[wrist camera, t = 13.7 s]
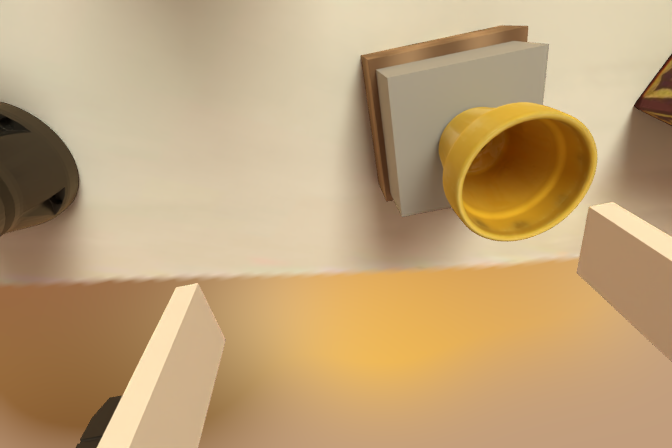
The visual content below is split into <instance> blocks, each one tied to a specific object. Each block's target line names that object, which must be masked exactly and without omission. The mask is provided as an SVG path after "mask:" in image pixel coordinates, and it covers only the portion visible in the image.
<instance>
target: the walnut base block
mask: <svg viewBox="0 0 672 448" xmlns="http://www.w3.org/2000/svg"><path fill="white" fill-rule="evenodd" d="M527 36H528V26H497V27H492V28H488V29H483V30H478V31H473V32H469V33H464V34H459V35H455V36H450V37H445V38H441V39H436V40H431V41H427V42H422V43H417V44H412V45H408V46H403V47H398V48H394V49H389V50H384V51H380V52H375V53H370V54H366V55H361V60H362V67H363V74H364V81H365V89H366V96H367V103H368V110H369V117H370V125H371V132H372V139H373V146H374V153H375V161H376V168H377V175H378V182H379V185H380V188H381V190H382V192H383V194H384V197H385V199H386V201H392V200H394V199H393V197H392V195H391V193H390V185H389V176H388V168H387V160H386V151H385V143H384V135H383V126H382V118H381V109H380V101H379V93H378V84H377V76H376V69H381V68H386V67H391V66H396V65H400V64H405V63H410V62H415V61H420V60H424V59H429V58H434V57H439V56H444V55H448V54H453V53H458V52H463V51H468V50H472V49H477V48H482V47H487V46H492V45H496V44H501V43H506V42H511V41H521V42H527Z"/></svg>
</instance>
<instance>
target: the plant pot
mask: <svg viewBox="0 0 672 448" xmlns="http://www.w3.org/2000/svg"><path fill="white" fill-rule="evenodd" d="M439 157H440V160H441V163H442V166H443V188H444V192H445V195H446V198H447V200H448V202H449V204H450V205H451V207H452V208H453V210H454V211H455V213H456V214H457V215H458V217H459V218H460V219H461V221H462V222H463V223H464V224H465V225H466V226H467V227H468V228H469V229H470V230H471V231H473V232H474V233H476V234H477V235H479V236H482V237H484V238H487V239H490V240H495V241H517V240H522V239H527V238H530V237H533V236H536V235H538V234H541V233H543V232H545V231H547V230H549V229H551V228H552V227H554V226H555V225H557V224H558V223H560V222H561V221H562V220H564V219H565V218H566V217H567V216H568V215H569V214H570V213H571V212H572V211H573V210H574V209H575V208H576V207H577V206H578V204H579V203H580V202H581V200H582V199H583V198H584V196H585V194H586V193H587V191H588V189H589V187H590V185H591V183H592V181H593V178H594V175H595V171H596V166H597V149H596V145H595V141H594V139H593V137H592V135H591V133H590V131H589V130H588V129H587V128H586V126H585V125H584V124H583V123H582V122H580V121H579V120H578V119H576V118H574V117H572V116H570V115H568V114H566V113H563V112H561V111H559V110H556V109H553V108H550V107H547V106H544V105H540V104H536V103H529V102H518V103H510V104H506V105H503V106H499V107H497V108H490V107H476V108H471V109H468V110H466V111H463V112H462V113H460V114H458V115H457V116H456V117H454V118H453V119H452V120H451V121H450V122H449V123H448V125H447V126H446V127H445V129H444V131H443V133H442V135H441V138H440V141H439Z"/></svg>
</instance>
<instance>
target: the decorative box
mask: <svg viewBox="0 0 672 448" xmlns="http://www.w3.org/2000/svg"><path fill="white" fill-rule="evenodd" d="M634 106H635V107H636V108H637V109H639V110H641V111H643V112H645V113H647V114H649V115H651V116H653V117H655V118H657V119H659V120H661V121H663V122H665V123H667V124H669V125H671V126H672V54H671V56H670V57H669V58H668V60H667V61H666V62H665V64H664V65H663V66H662V68H661V69H660V70H659V72H658V73H657V74H656V76H655V77H654V78H653V80H652V81H651V82H650V84H649V85H648V87H647V88H646V89H645V91H644V92H643V93H642V95H641V96H640V97H639V99H638V100H637V102H636V103H635V105H634Z"/></svg>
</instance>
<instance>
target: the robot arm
mask: <svg viewBox="0 0 672 448" xmlns="http://www.w3.org/2000/svg"><path fill="white" fill-rule="evenodd" d="M78 182H79V181H78V172H77V168H76V164H75V162H74V159H73V157H72V155H71V153H70V151H69V150H68V148H67V147H66V145H65V144H64V143H63V141H62V140H61V139H60V138H59V137H58V135H57V134H56V133H55V132H54V131H53V130H52V129H50V128H49V127H48V126H47V125H46V124H45V123H43V122H42V121H41V120H39V119H38V118H36V117H35V116H33V115H31V114H30V113H28V112H26V111H24V110H22V109H20V108H17V107H15V106H12V105H9V104H6V103H3V102H0V236H1V235H3V234H5V233H9V232H12V231H16V230H20V229H24V228H28V227H31V226H35V225H39V224H42V223H45V222H47V221H49V220H51V219H53V218H54V217H56V216H57V215H59V214H60V213H61V212H62V211H64V210H65V209H66V208H67V207H68V206H69V205H70V204H71V203H72V202H73V200H74V198H75V196H76V194H77V190H78ZM577 274H578V275H579V276H580V277H581V278H583V279H584V280H585V281H586V282H587V283H588V284H589V285H590V286H591V287H592V288H593V289H595V291H597V292H598V293H599V294H600V295H601V296H602V297H603V298H604V299H605V300H606V301H607V302H608V303H609V304H611V306H613V307H614V308H615V309H616V310H617V311H618V312H619V313H620V314H621V315H622V316H623V317H625V318H626V320H628V321H629V322H630V323H631V324H632V325H633V326H634V327H635V328H636V329H637V330H638V331H639V332H640V333H641V334H643V335H644V336H645V337H646V338H647V339H648V340H649V341H650V342H651V343H652V344H654V346H655V347H657V348H658V349H659V350H660V351H661V352H662V353H663V354H664V355H665V356H666V357H667V358H669V360H670V361H671V362H672V237H671V236H669V235H668V234H666V233H664V232H663V231H661V230H659V229H658V228H656V227H654V226H652V225H651V224H649V223H647V222H646V221H644V220H642V219H641V218H639V217H637V216H636V215H634V214H632V213H630V212H629V211H627V210H625V209H624V208H622V207H620V206H619V205H617V204H615V203H614V202H610V203H605V204H600V205H594V206H589V209H588V214H587V220H586V225H585V231H584V236H583V241H582V247H581V252H580V258H579V263H578V268H577ZM224 344H225V337H224V335H223V333H222V331H221V329H220V327H219V325H218V323H217V321H216V319H215V317H214V315H213V313H212V311H211V309H210V307H209V305H208V302H207V300H206V298H205V296H204V294H203V292H202V290H201V288H200V286H199V284H198V283H196V284H191V285H186V286H181V287H176V289H175V291H174V293H173V295H172V297H171V299H170V301H169V303H168V305H167V307H166V309H165V311H164V313H163V315H162V317H161V319H160V321H159V323H158V325H157V327H156V329H155V331H154V333H153V335H152V338H151V339H150V341H149V343H148V345H147V347H146V350H145V352H144V353H143V355H142V358H141V360H140V362H139V364H138V366H137V368H136V370H135V372H134V374H133V376H132V378H131V380H130V382H129V384H128V386H127V388H126V390H125V392H124V394H123V395H122V396H117V397H112V398H109V399H108V400H107V402H106V403H105V404H104V405H103V406H102V407H101V408H100V409H99V410H98V412H97V413H96V414H95V415H94V416H93V417H92V419H91V421H90V422H89V424H88V426H87V428H86V430H85V432H84V433H83V435H82V437H81V439H80V440H81V442H80V444H77V446H76V448H198V445H199V441H200V437H201V433H202V430H203V426H204V422H205V418H206V414H207V410H208V406H209V402H210V398H211V394H212V391H213V387H214V383H215V379H216V375H217V371H218V368H219V364H220V360H221V356H222V352H223V348H224Z"/></svg>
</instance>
